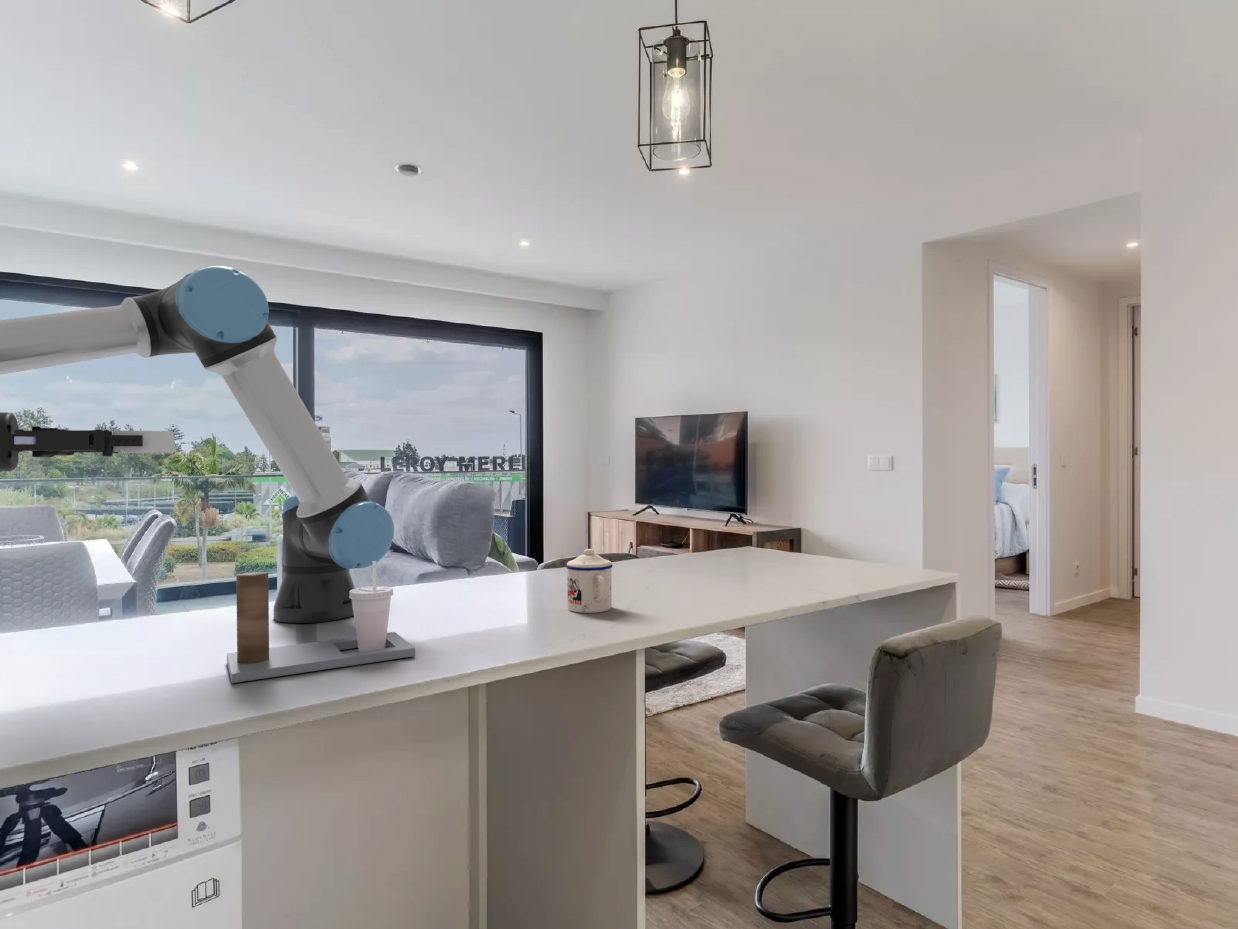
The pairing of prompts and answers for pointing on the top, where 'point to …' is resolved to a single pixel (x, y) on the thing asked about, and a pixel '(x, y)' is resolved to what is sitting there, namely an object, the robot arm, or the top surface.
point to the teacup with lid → (589, 583)
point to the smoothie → (371, 614)
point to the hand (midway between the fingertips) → (174, 442)
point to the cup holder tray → (291, 659)
